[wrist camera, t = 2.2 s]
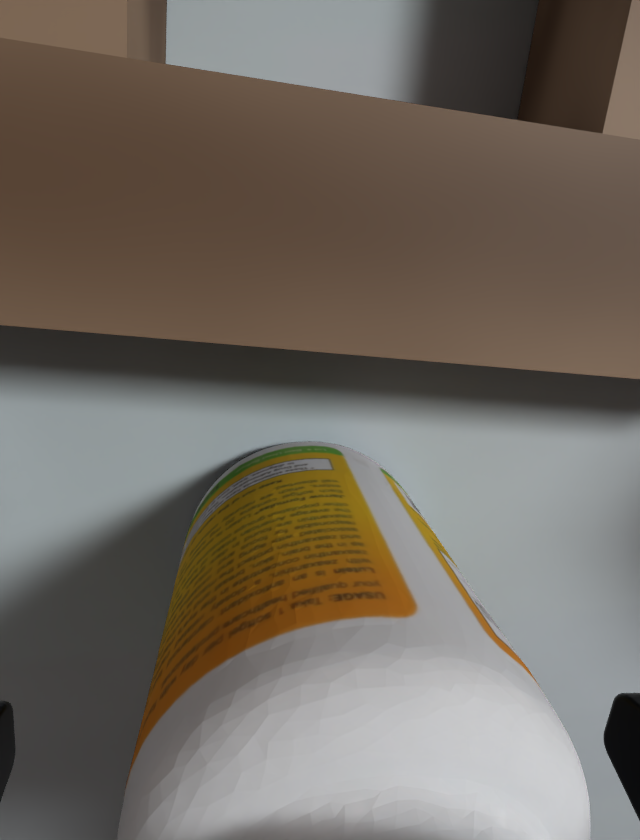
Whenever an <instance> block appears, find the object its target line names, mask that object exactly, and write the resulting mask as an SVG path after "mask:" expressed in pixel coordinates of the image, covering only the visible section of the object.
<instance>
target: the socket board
mask: <svg viewBox="0 0 640 840" xmlns="http://www.w3.org/2000/svg"><path fill="white" fill-rule="evenodd" d="M166 13H167V0H0V325H6V326H18V327H30V328H41V329H53V330H65V331H77V332H89V333H100V334H112V335H124V336H136V337H148V338H159V339H171V340H183V341H195V342H207V343H218V344H230V345H242V346H254V347H266V348H277V349H289V350H301V351H313V352H325V353H336V354H348V355H360V356H372V357H384V358H395V359H407V360H419V361H431V362H443V363H454V364H466V365H478V366H490V367H502V368H513V369H525V370H537V371H549V372H561V373H572V374H584V375H596V376H608V377H620V378H631V379H640V0H539V3H538V9H537V14H536V20H535V25H534V31H533V36H532V42H531V47H530V53H529V58H528V64H527V69H526V75H525V81H524V86H523V92H522V97H521V103H520V108H519V114H518V119H517V120H514V119H507V118H501V117H495V116H489V115H482V114H476V113H470V112H463V111H457V110H451V109H445V108H438V107H432V106H426V105H420V104H413V103H407V102H401V101H394V100H388V99H382V98H376V97H369V96H363V95H357V94H351V93H344V92H338V91H332V90H325V89H319V88H313V87H307V86H300V85H294V84H288V83H282V82H275V81H269V80H263V79H256V78H250V77H244V76H238V75H231V74H225V73H219V72H213V71H206V70H200V69H194V68H187V67H181V66H175V65H169V64H165V61H166Z"/></svg>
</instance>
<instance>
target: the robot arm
mask: <svg viewBox="0 0 640 840" xmlns="http://www.w3.org/2000/svg"><path fill="white" fill-rule="evenodd" d="M604 745H605V748H606V751H607V754H608V756H609V758H610V760H611V762H612V764H613V766H614V768H615V770H616V772H617V774H618V777H619V779H620V781H621V783H622V785H623V787H624V789H625V791H626V793H627V795H628V797H629V800H630V802H631V804H632V806H633V808H634V810H635V812H636V814H637V816H638V818H639V820H640V693H621V694H618V695H617V696H616V697H615V699H614V701H613V704H612V707H611V711H610V714H609V717H608V721H607V724H606V727H605V731H604ZM14 758H15V734H14V719H13V708H12V706H11V704H10V703H9V702H6V701H0V801H1V799H2V796H3V793H4V790H5V787H6V784H7V782H8V779H9V776H10V773H11V770H12V767H13V763H14Z"/></svg>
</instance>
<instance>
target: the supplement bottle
mask: <svg viewBox="0 0 640 840" xmlns="http://www.w3.org/2000/svg"><path fill="white" fill-rule="evenodd" d="M590 829H591V821H590V801H589V796H588V791H587V786H586V780H585V777H584V773H583V770H582V767H581V763H580V760H579V757H578V755H577V753H576V750H575V748H574V746H573V744H572V741H571V739H570V737H569V735H568V733H567V731H566V729H565V728H564V726H563V724H562V723H561V721H560V719H559V717H558V716H557V714H556V712H555V711H554V709H553V707H552V706H551V704H550V703H549V701H548V699H547V698H546V696H545V694H544V693H543V691H542V690H541V688H540V687H539V685H538V683H537V682H536V680H535V679H534V677H533V676H532V674H531V673H530V671H529V670H528V668H527V667H526V666H525V664H524V663H523V662H522V661H521V659H520V658H519V656H518V655H517V653H516V652H515V650H514V649H513V647H512V646H511V645H510V643H509V642H508V640H507V639H506V637H505V636H504V634H503V633H502V632H501V630H500V629H499V627H498V626H497V624H496V623H495V622H494V620H493V619H492V617H491V616H490V614H489V613H488V611H487V610H486V608H485V607H484V606H483V604H482V603H481V601H480V600H479V598H478V597H477V595H476V594H475V593H474V591H473V590H472V588H471V587H470V585H469V584H468V582H467V581H466V579H465V578H464V576H463V575H462V574H461V572H460V571H459V569H458V568H457V566H456V565H455V563H454V562H453V560H452V559H451V557H450V556H449V554H448V553H447V551H446V550H445V549H444V547H443V546H442V544H441V543H440V541H439V540H438V538H437V537H436V535H435V534H434V532H433V531H432V530H431V528H430V526H429V525H428V523H427V522H426V521H425V519H424V518H423V516H422V515H421V513H420V512H419V510H418V509H417V508H416V506H415V505H414V503H413V502H412V500H411V499H410V497H409V496H408V495H407V493H406V492H405V491H404V489H403V488H402V487H401V486H400V485H399V483H398V482H397V481H396V480H395V479H394V478H393V477H392V476H391V474H390V473H389V472H387V471H386V470H385V469H384V468H383V467H382V466H381V465H379V464H378V463H377V462H375V461H374V460H372V459H371V458H369V457H367V456H365V455H363V454H361V453H359V452H357V451H355V450H353V449H350V448H347V447H344V446H340V445H336V444H331V443H324V442H313V441H308V442H293V443H286V444H281V445H277V446H273V447H269V448H266V449H263V450H261V451H258V452H256V453H254V454H252V455H250V456H248V457H246V458H244V459H242V460H241V461H239V462H238V463H236V464H235V465H233V466H232V467H231V468H229V469H228V470H227V471H226V472H225V473H224V474H223V475H222V476H221V477H220V478H219V479H218V480H217V481H216V482H215V483H214V484H213V485H212V486H211V487H210V489H209V490H208V491H207V493H206V494H205V496H204V497H203V499H202V500H201V502H200V504H199V505H198V507H197V509H196V511H195V514H194V516H193V519H192V521H191V524H190V527H189V530H188V533H187V536H186V539H185V543H184V547H183V551H182V556H181V560H180V564H179V570H178V573H177V577H176V581H175V585H174V590H173V594H172V598H171V603H170V607H169V611H168V615H167V619H166V623H165V627H164V631H163V635H162V640H161V644H160V648H159V653H158V657H157V662H156V666H155V670H154V674H153V678H152V682H151V686H150V690H149V694H148V698H147V702H146V707H145V711H144V715H143V719H142V723H141V727H140V731H139V735H138V739H137V743H136V747H135V751H134V755H133V759H132V763H131V767H130V771H129V775H128V779H127V783H126V787H125V793H124V801H123V806H122V811H121V816H120V821H119V827H118V834H117V840H590Z"/></svg>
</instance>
